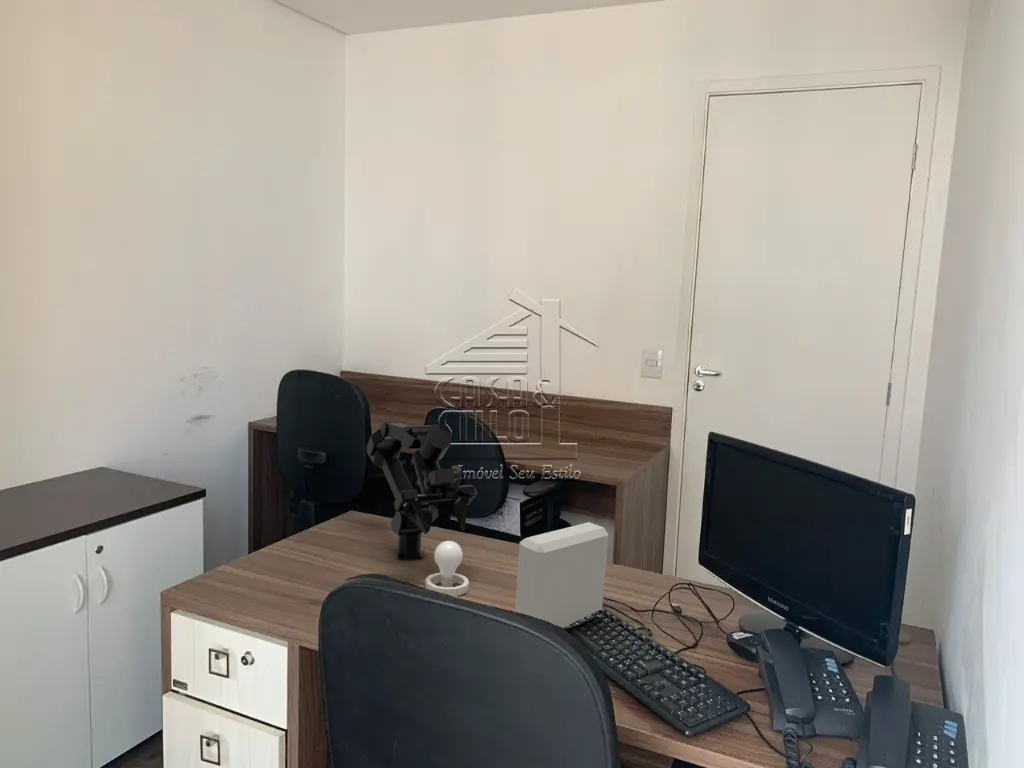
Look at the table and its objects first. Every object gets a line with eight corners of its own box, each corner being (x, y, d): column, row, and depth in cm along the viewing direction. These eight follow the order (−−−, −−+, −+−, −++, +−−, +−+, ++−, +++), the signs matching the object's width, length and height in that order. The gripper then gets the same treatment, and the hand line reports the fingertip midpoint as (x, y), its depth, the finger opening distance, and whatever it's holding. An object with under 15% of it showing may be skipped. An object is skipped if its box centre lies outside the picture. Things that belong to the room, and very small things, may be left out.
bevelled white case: (576, 606, 165) (583, 518, 163) (604, 619, 160) (612, 528, 157) (505, 631, 151) (512, 535, 148) (534, 647, 145) (541, 547, 143)
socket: (422, 581, 173) (423, 573, 173) (463, 579, 176) (463, 571, 175) (429, 598, 164) (429, 590, 164) (471, 596, 167) (472, 588, 166)
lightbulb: (449, 596, 166) (452, 548, 164) (426, 589, 169) (429, 541, 168) (466, 587, 171) (468, 541, 170) (443, 581, 174) (446, 535, 173)
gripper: (401, 455, 168) (417, 518, 160) (476, 451, 177) (495, 510, 169) (387, 480, 176) (402, 541, 168) (459, 475, 185) (477, 533, 177)
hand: (445, 531), depth 170 cm, fingers open, 9 cm apart
